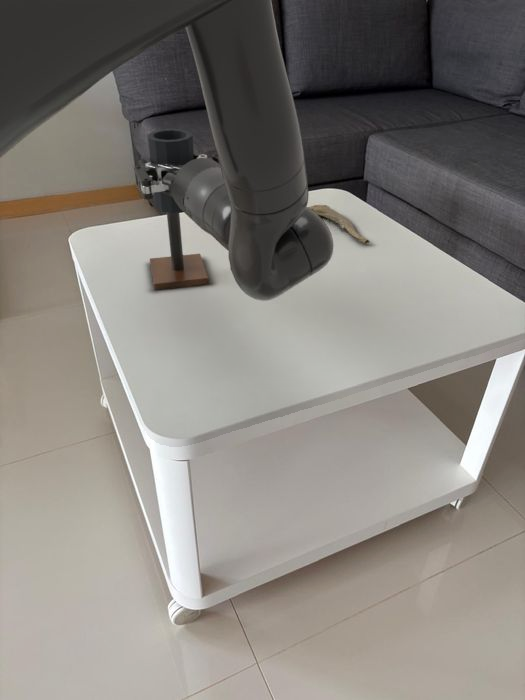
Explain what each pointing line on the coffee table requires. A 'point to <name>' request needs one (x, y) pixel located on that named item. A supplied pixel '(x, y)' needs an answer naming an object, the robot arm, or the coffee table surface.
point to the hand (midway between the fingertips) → (166, 159)
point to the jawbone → (337, 220)
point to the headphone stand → (177, 262)
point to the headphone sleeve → (170, 158)
